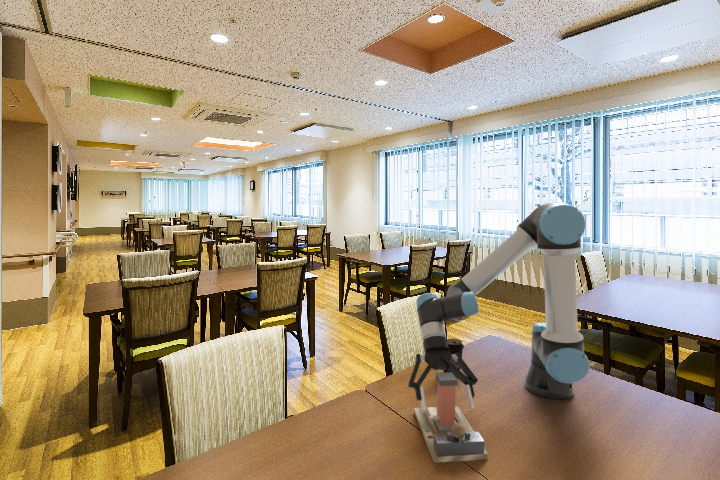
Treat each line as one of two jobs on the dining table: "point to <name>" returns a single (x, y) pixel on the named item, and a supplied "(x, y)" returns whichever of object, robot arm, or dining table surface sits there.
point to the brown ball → (458, 430)
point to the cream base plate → (430, 429)
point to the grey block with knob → (458, 444)
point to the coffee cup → (454, 350)
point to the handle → (445, 402)
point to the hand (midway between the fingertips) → (448, 411)
